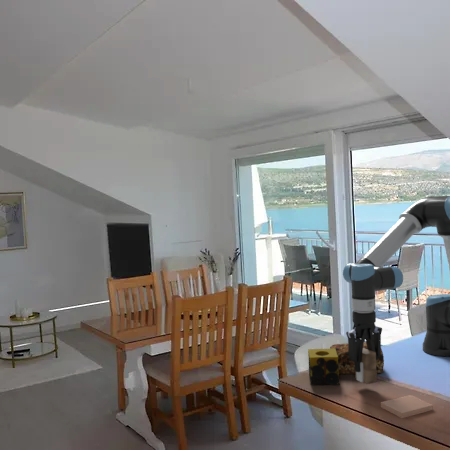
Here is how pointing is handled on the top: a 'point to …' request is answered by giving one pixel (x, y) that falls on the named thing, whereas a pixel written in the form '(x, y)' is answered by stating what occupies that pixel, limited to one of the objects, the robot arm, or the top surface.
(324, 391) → the top surface
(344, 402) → the top surface
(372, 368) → the light brown rectangular block
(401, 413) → the tile
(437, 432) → the top surface
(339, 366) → the bread
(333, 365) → the yellow spotted cube
